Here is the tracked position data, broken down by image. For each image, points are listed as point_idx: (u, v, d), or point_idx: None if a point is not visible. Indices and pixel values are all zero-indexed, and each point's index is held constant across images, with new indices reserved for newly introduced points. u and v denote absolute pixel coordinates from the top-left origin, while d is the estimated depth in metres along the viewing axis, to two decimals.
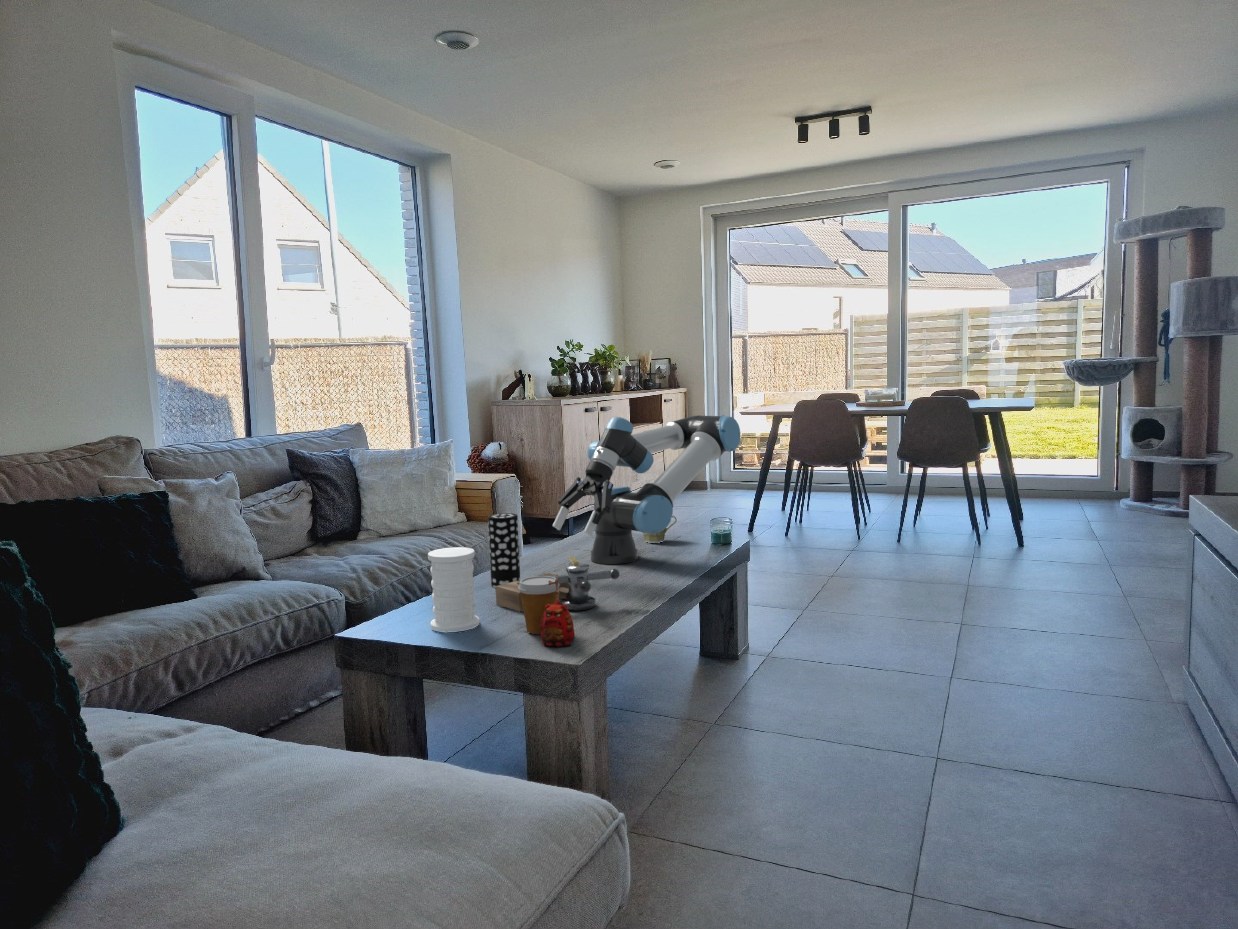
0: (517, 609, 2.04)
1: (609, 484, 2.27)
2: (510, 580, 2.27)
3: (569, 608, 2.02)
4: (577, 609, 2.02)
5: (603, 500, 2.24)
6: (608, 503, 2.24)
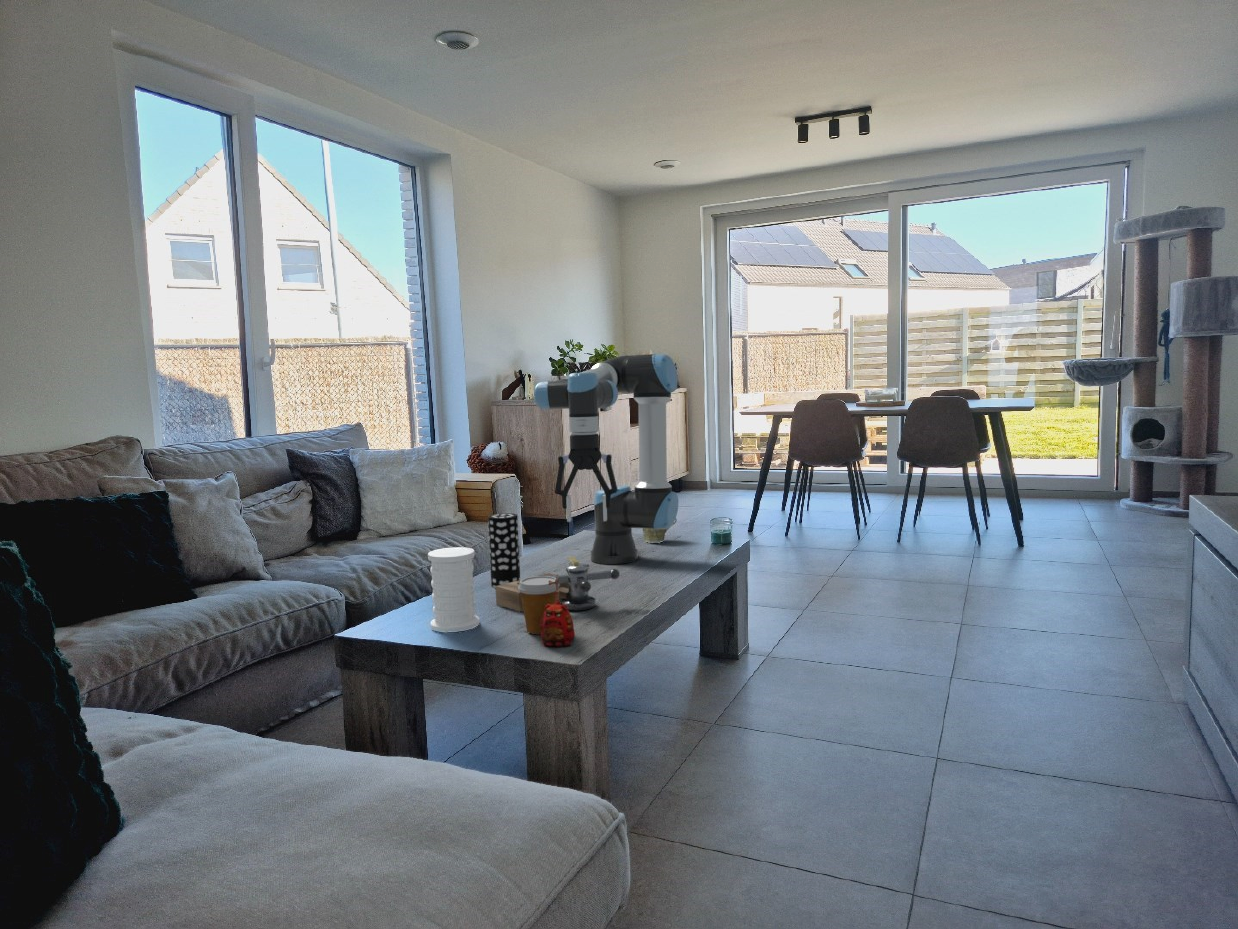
0: (517, 609, 2.04)
1: (611, 459, 2.06)
2: (510, 580, 2.27)
3: (569, 608, 2.02)
4: (577, 609, 2.02)
5: (612, 481, 2.06)
6: (615, 481, 2.07)
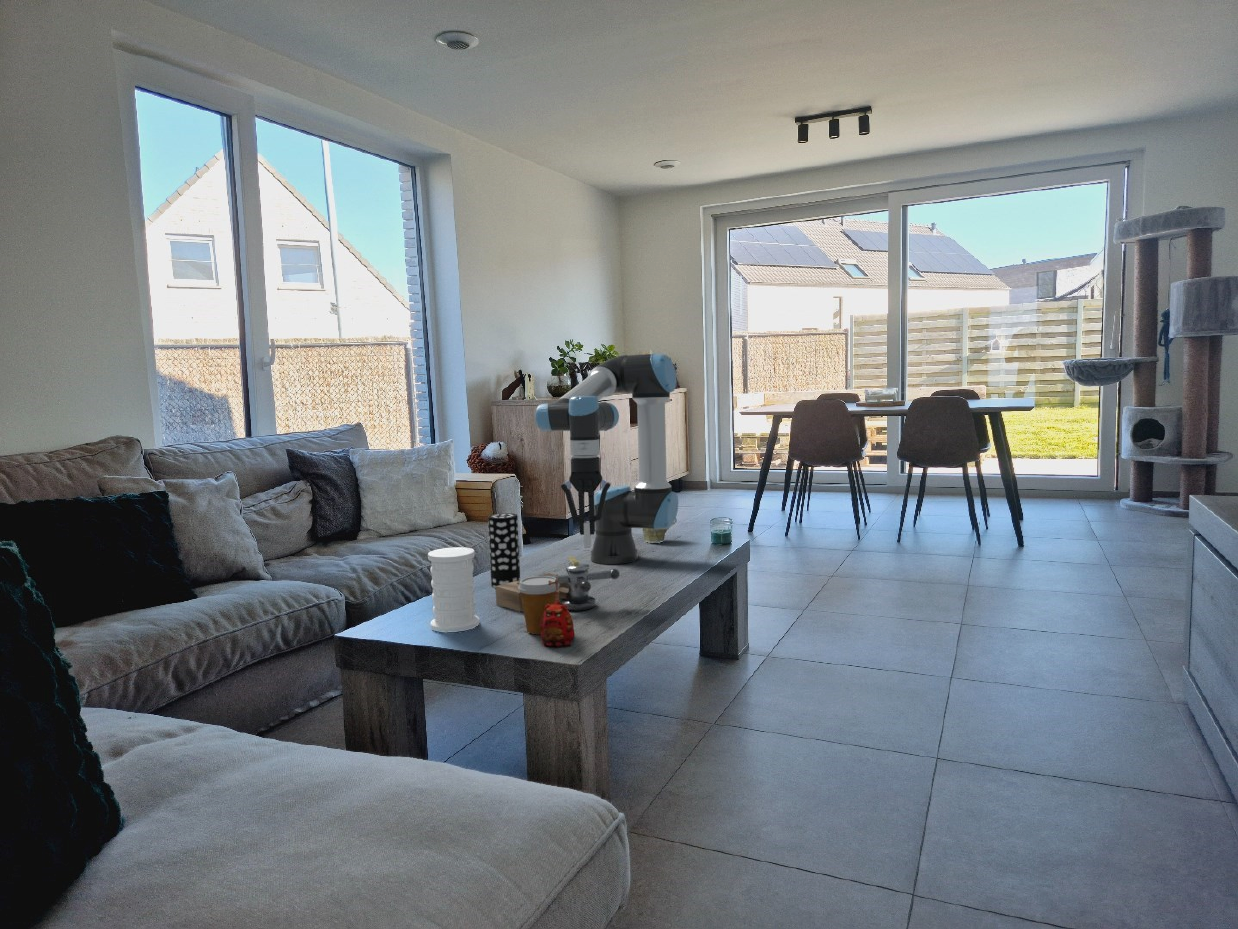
0: (517, 609, 2.04)
1: (609, 488, 2.06)
2: (510, 580, 2.27)
3: (569, 608, 2.02)
4: (577, 609, 2.02)
5: (600, 508, 2.06)
6: (602, 509, 2.08)
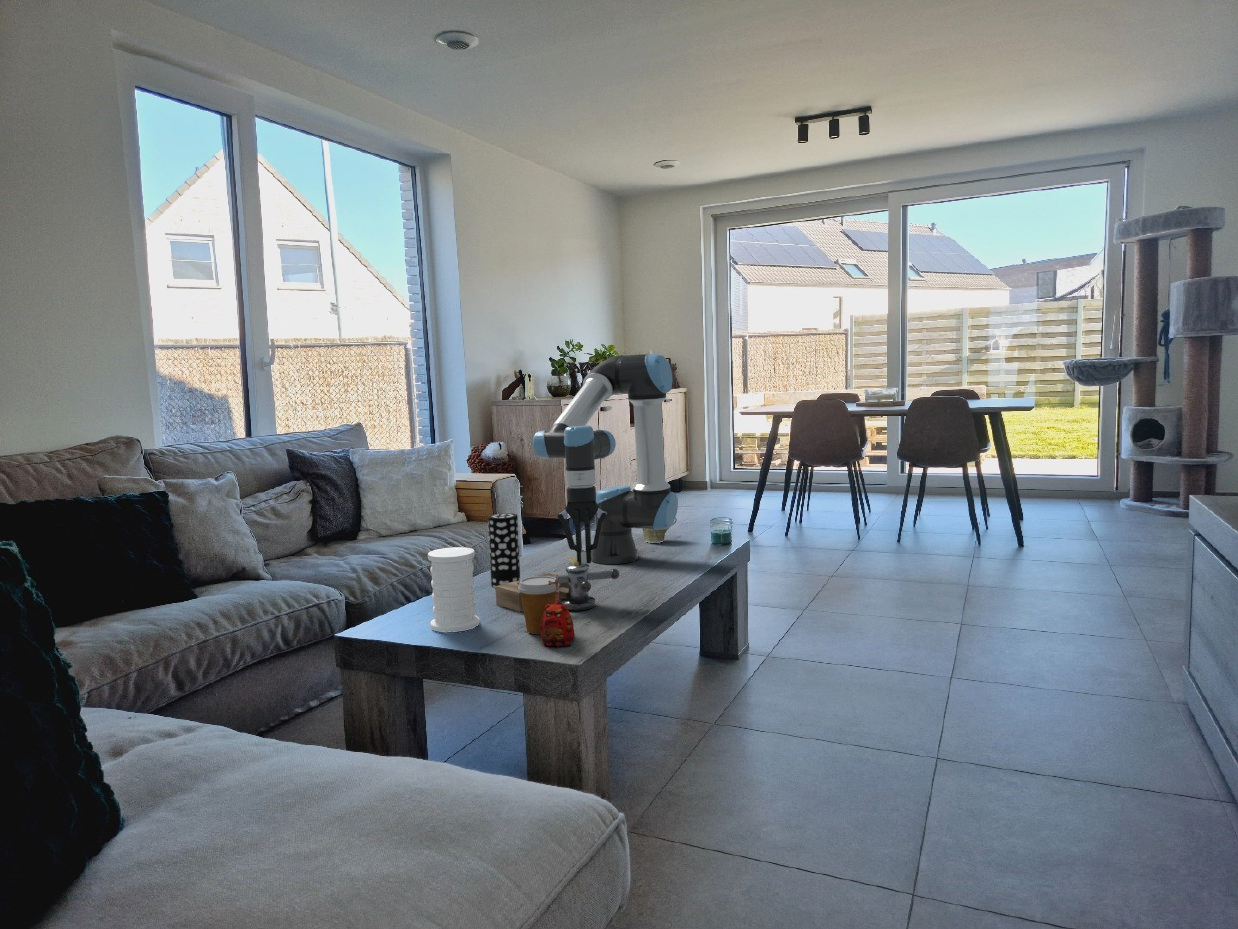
0: (517, 609, 2.04)
1: (605, 517, 2.07)
2: (510, 580, 2.27)
3: (569, 608, 2.02)
4: (577, 609, 2.02)
5: (596, 537, 2.08)
6: (599, 538, 2.09)
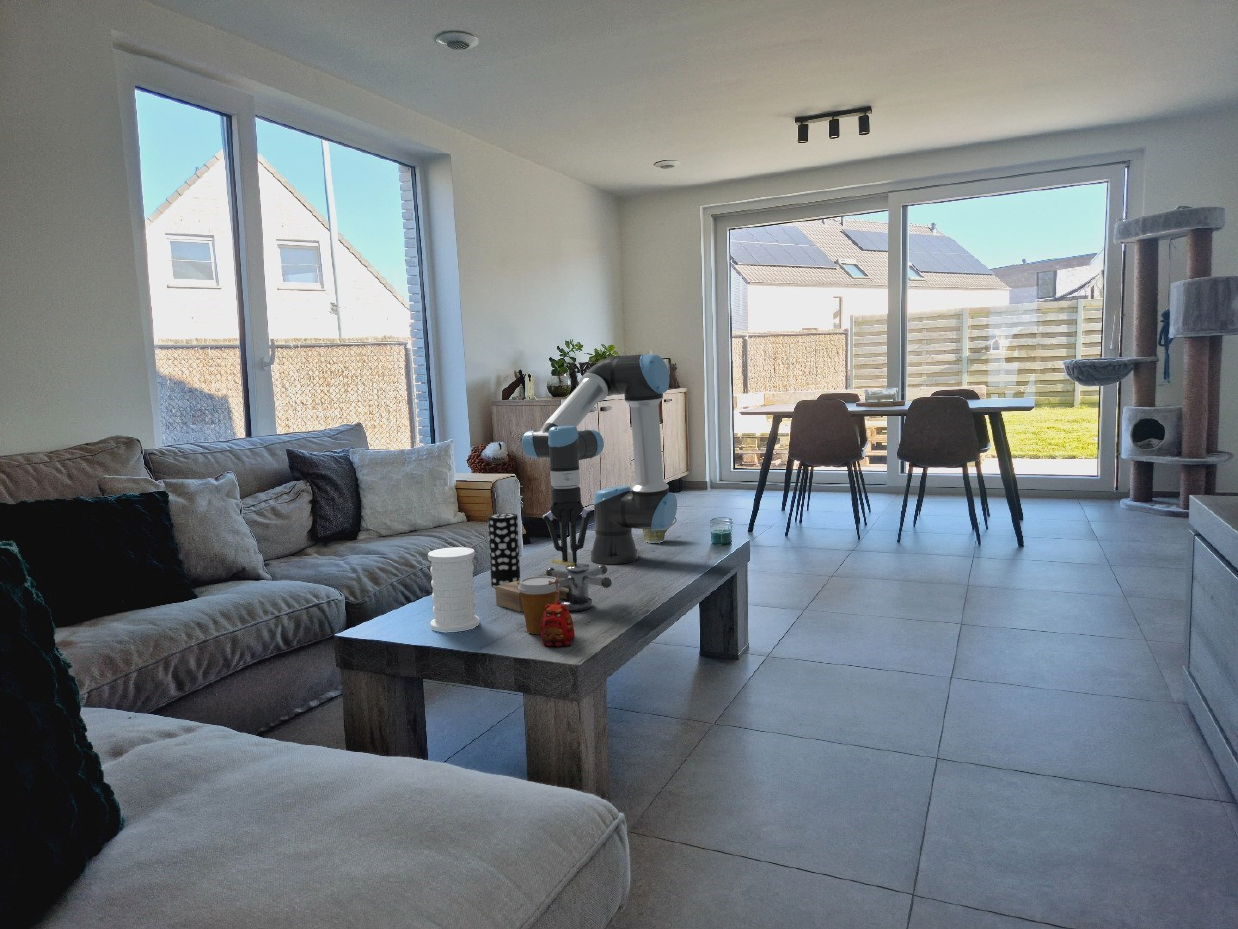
0: (517, 609, 2.04)
1: None
2: (510, 580, 2.27)
3: (577, 609, 2.01)
4: (584, 608, 2.02)
5: (582, 537, 2.08)
6: None
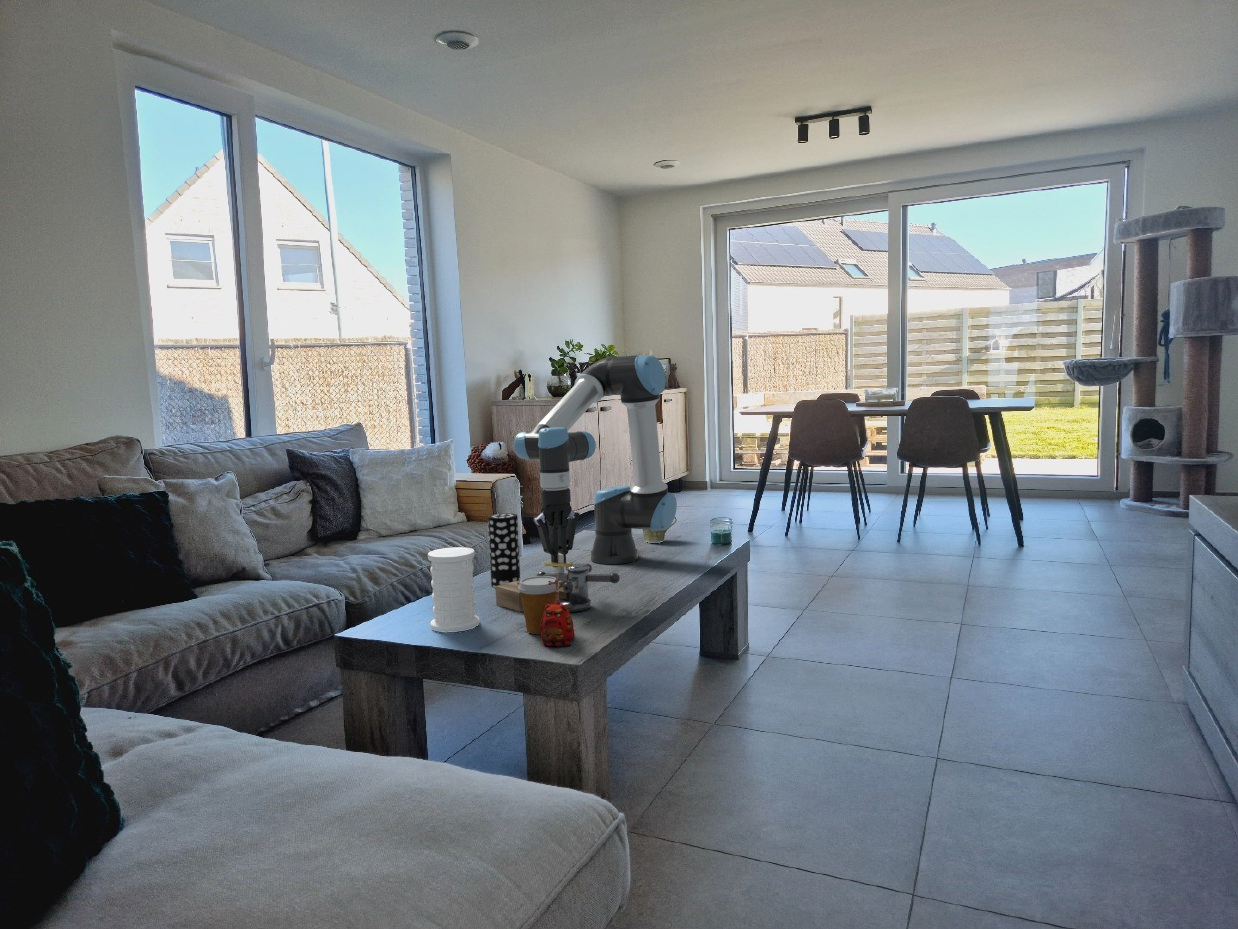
0: (517, 609, 2.04)
1: None
2: (510, 580, 2.27)
3: (583, 608, 2.02)
4: (589, 607, 2.03)
5: (571, 538, 2.08)
6: None
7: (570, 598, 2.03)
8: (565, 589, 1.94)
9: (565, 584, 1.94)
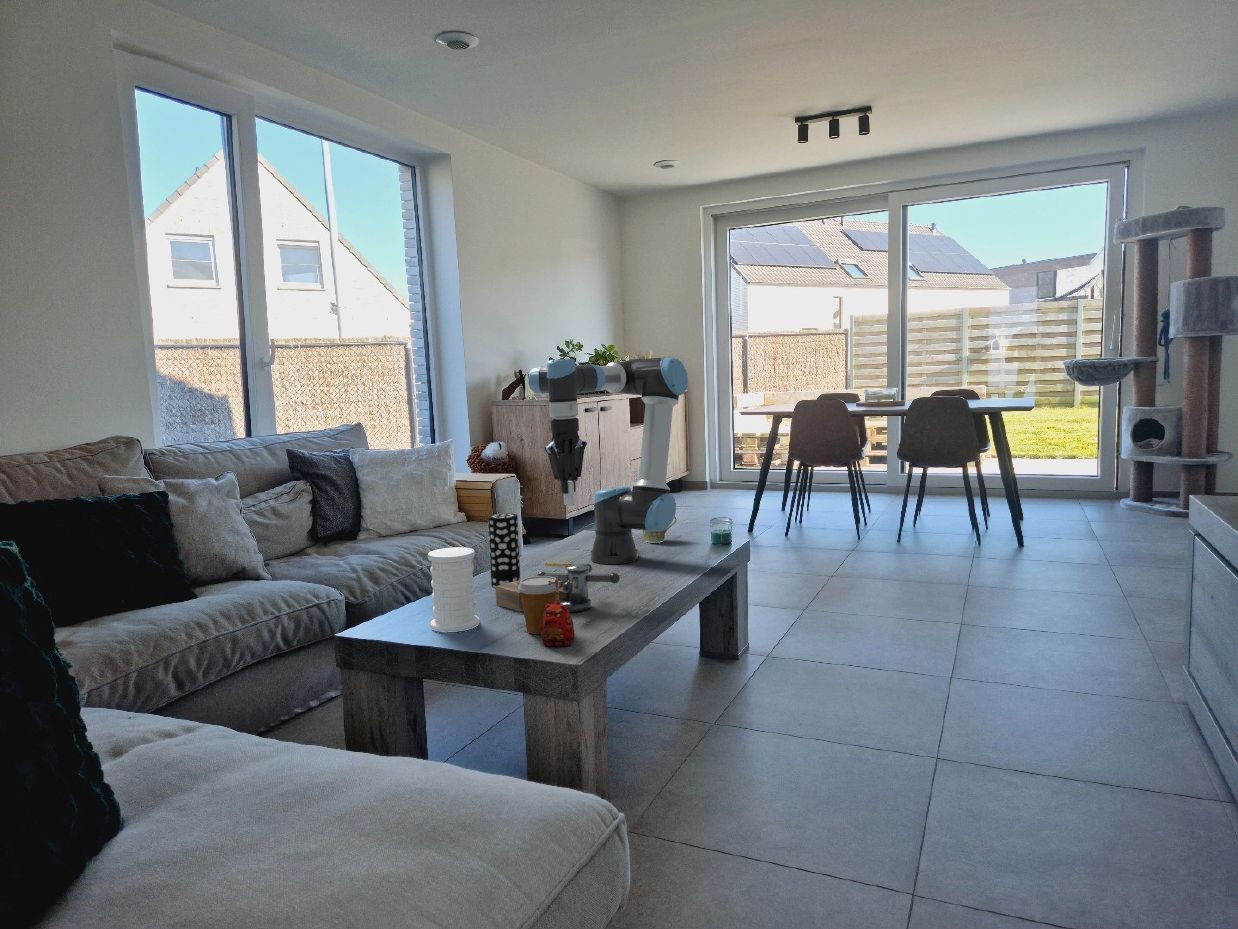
0: (517, 609, 2.04)
1: None
2: (510, 580, 2.27)
3: (583, 608, 2.02)
4: (589, 607, 2.03)
5: (580, 465, 2.17)
6: None
7: (570, 598, 2.03)
8: (565, 589, 1.94)
9: (565, 584, 1.94)
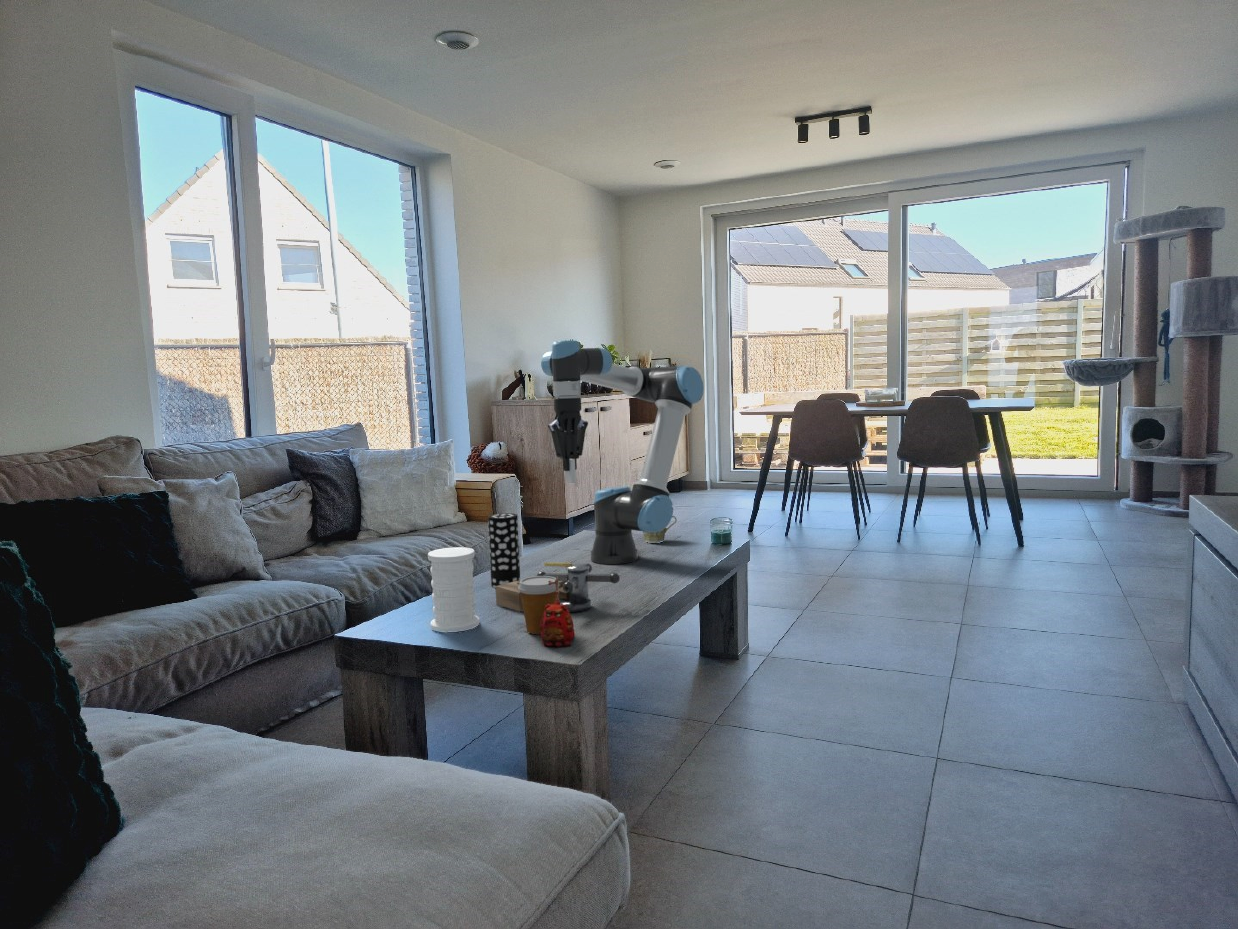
0: (517, 609, 2.04)
1: None
2: (510, 580, 2.27)
3: (583, 608, 2.02)
4: (589, 607, 2.03)
5: (581, 444, 2.25)
6: None
7: (570, 598, 2.03)
8: (565, 589, 1.94)
9: (565, 584, 1.94)
